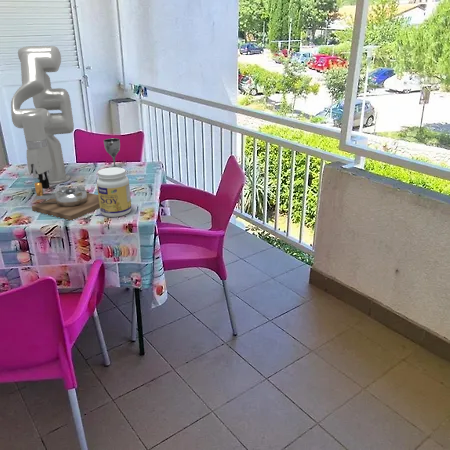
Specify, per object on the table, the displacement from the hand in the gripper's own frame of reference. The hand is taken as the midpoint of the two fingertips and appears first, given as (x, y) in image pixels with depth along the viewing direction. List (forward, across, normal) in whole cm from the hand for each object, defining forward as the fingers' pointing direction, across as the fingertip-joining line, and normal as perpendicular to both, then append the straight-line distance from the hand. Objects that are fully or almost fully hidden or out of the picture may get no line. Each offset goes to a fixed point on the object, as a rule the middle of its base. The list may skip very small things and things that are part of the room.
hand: (45, 187), depth 179 cm
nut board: (+7, +1, +12) cm, 14 cm away
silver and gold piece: (+5, +2, +8) cm, 10 cm away
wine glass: (+7, -52, +6) cm, 53 cm away
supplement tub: (+7, +3, +32) cm, 33 cm away
